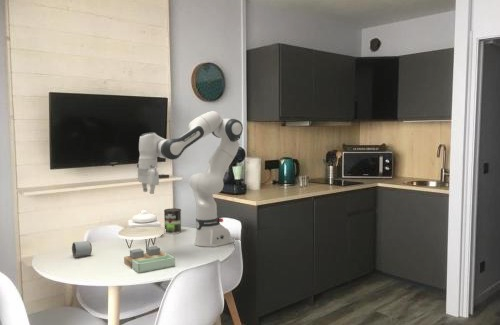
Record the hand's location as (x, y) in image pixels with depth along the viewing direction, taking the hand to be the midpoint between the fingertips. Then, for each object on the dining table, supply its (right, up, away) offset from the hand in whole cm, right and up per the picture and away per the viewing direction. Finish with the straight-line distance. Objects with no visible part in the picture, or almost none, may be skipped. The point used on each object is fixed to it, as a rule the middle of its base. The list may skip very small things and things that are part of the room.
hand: (148, 192), depth 216 cm
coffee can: (+3, -28, +52) cm, 60 cm away
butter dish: (-13, -29, +44) cm, 54 cm away
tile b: (-3, -29, -12) cm, 32 cm away
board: (+2, -32, -11) cm, 34 cm away
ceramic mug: (-35, -32, +3) cm, 48 cm away
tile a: (+4, -29, -8) cm, 30 cm away
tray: (+7, -33, -19) cm, 38 cm away
